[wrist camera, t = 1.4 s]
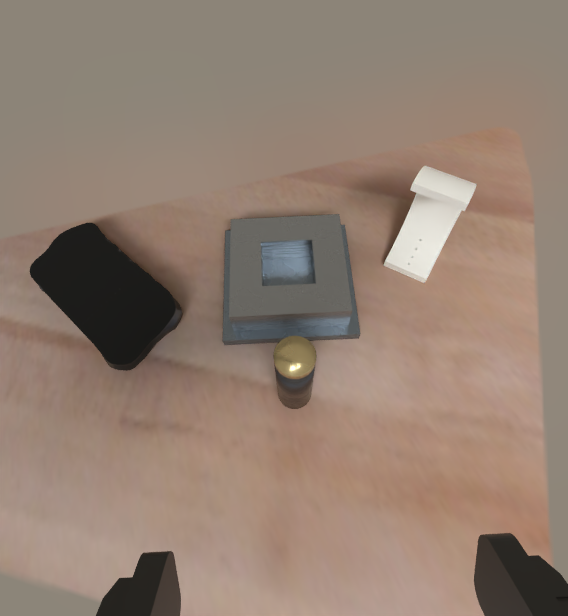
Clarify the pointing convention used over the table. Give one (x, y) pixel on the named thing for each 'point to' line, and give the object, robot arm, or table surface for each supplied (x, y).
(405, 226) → the headphone stand
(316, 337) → the square hole socket
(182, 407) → the table surface
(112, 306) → the black sponge
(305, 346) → the brass pin
